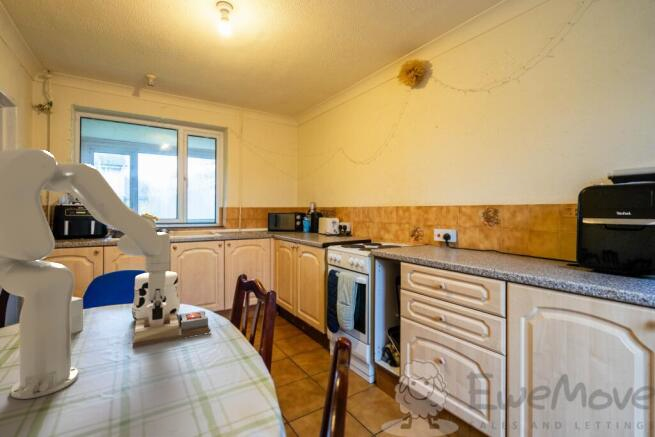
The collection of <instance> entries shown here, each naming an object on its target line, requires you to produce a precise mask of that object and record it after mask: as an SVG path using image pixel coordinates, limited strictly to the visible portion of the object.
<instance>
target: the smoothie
mask: <svg viewBox="0 0 655 437" xmlns="http://www.w3.org/2000/svg"><path fill="white" fill-rule="evenodd" d="M162 307H163V318H162V319H158V320H152V308H153V303H151V304H148V305H147V306H146V309H147V311H148V318H149V324H150V327H152V326H158V325H163V323H164V315H165V308H166V307H167V304H166V303H165V302H162Z"/></svg>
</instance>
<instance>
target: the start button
mask: <svg viewBox="0 0 655 437" xmlns="http://www.w3.org/2000/svg"><path fill="white" fill-rule="evenodd" d="M186 318H187V320H191V319H197V318H201V315H200V314H190V315H187V316H186Z"/></svg>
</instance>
